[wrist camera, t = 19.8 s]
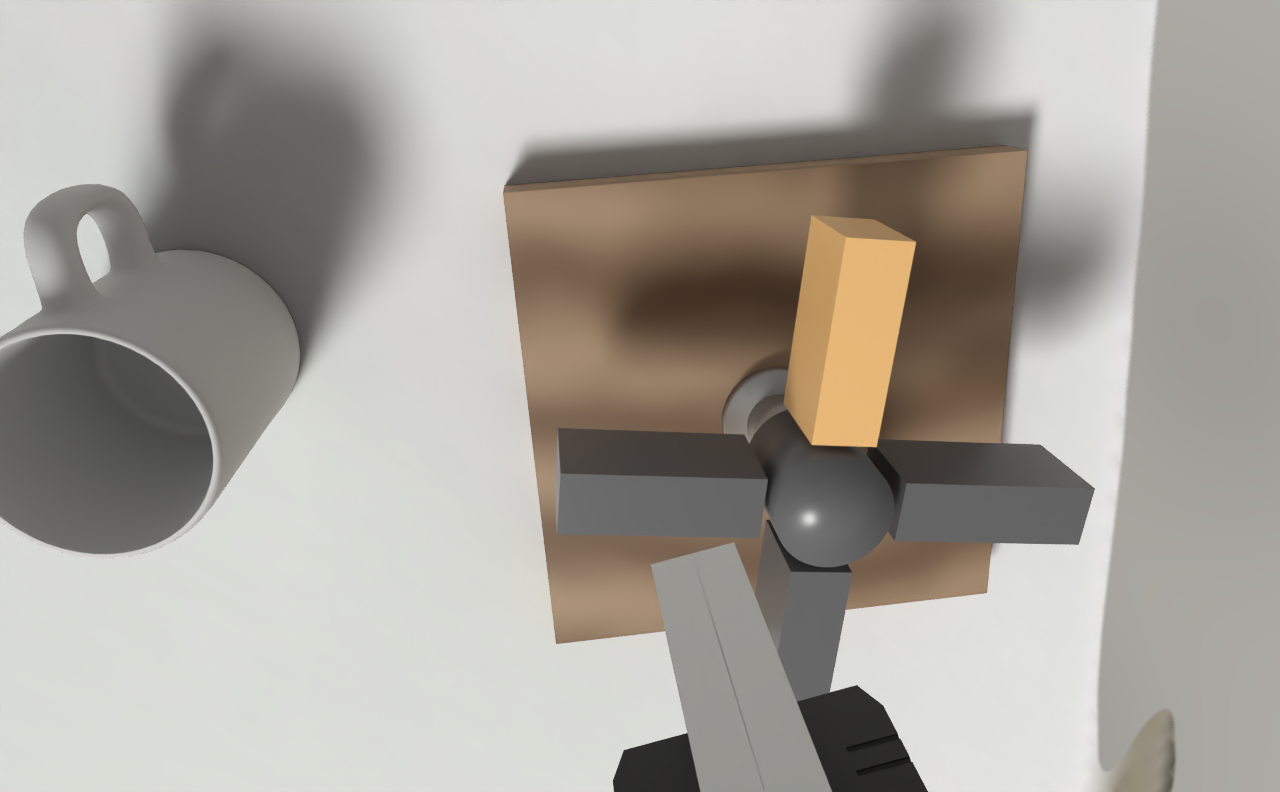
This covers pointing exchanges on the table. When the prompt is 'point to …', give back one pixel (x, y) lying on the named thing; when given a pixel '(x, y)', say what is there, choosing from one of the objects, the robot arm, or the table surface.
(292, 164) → the table surface
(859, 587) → the stud base
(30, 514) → the mug
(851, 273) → the grey bar cross
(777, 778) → the robot arm
